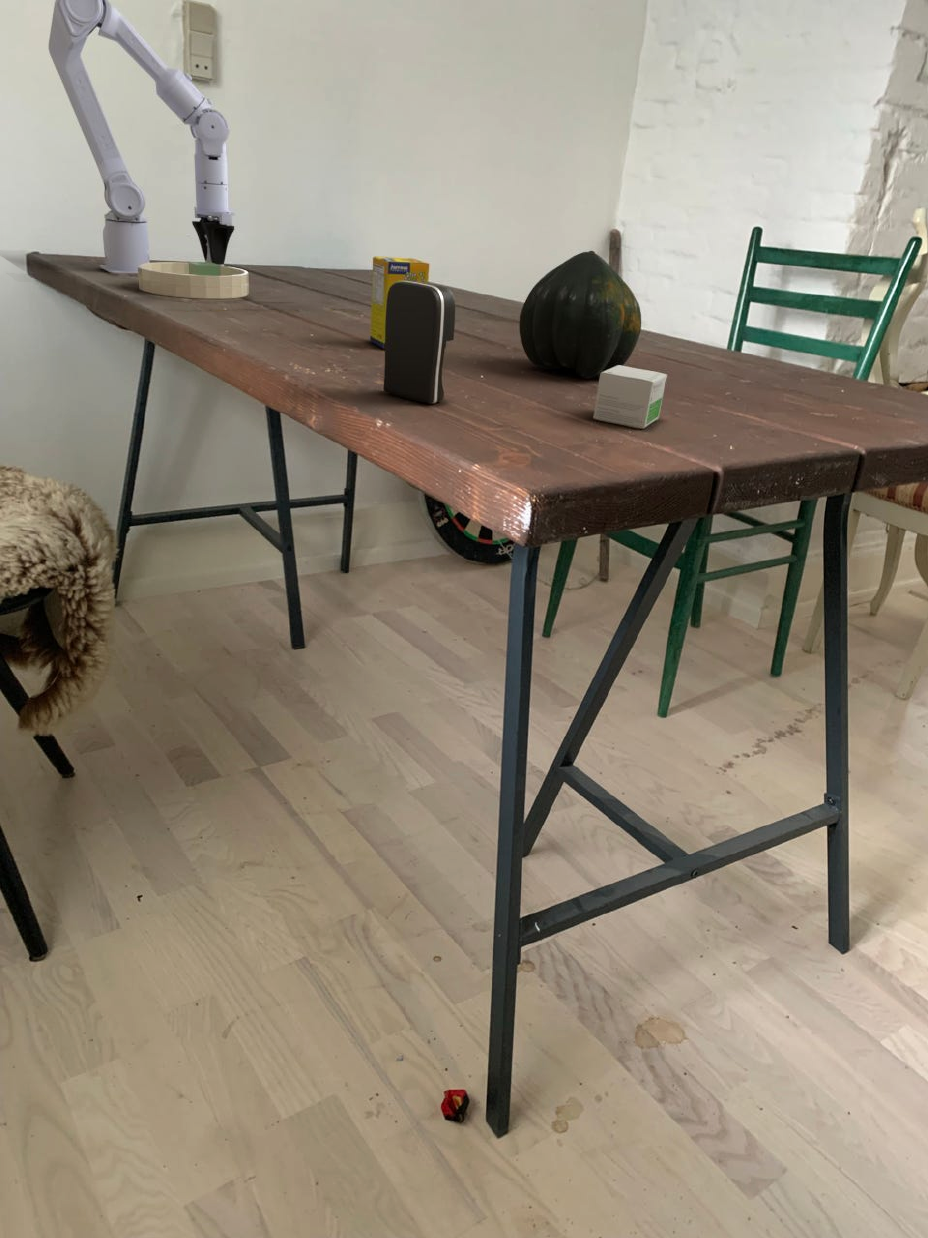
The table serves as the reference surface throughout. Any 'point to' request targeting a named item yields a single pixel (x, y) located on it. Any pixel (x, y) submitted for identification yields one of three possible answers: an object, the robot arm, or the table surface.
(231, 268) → the bowl
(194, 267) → the block
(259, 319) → the table surface
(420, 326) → the battery charger
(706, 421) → the table surface
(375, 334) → the supplement box
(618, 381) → the small box
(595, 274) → the squash
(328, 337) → the table surface
